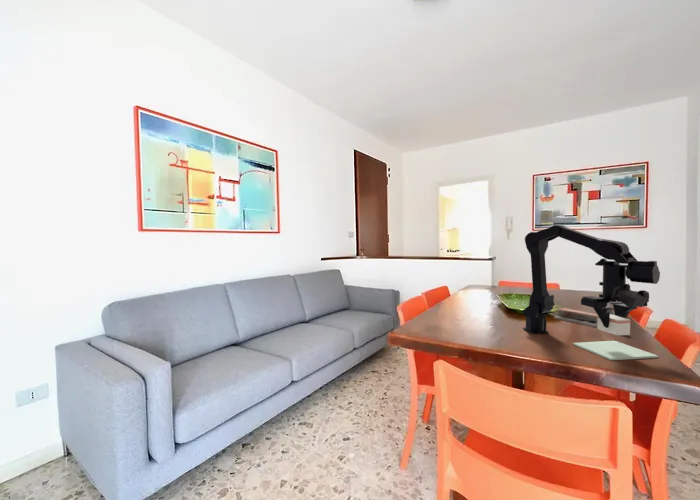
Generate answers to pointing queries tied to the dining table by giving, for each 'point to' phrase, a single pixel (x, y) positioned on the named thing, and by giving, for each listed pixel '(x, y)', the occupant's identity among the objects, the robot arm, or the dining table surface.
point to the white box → (615, 325)
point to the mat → (614, 350)
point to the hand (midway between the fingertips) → (612, 327)
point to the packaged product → (577, 317)
